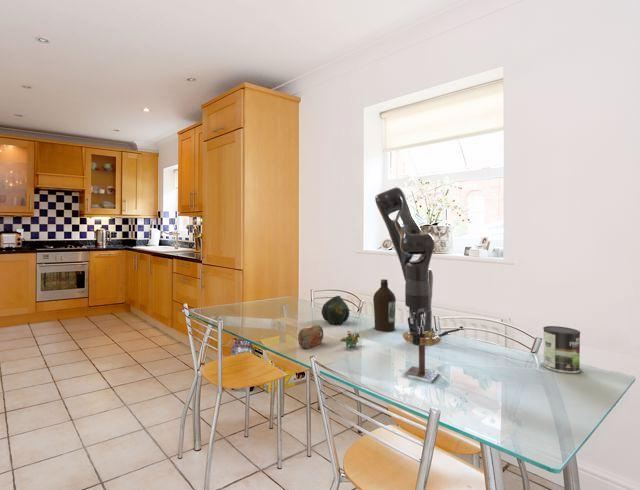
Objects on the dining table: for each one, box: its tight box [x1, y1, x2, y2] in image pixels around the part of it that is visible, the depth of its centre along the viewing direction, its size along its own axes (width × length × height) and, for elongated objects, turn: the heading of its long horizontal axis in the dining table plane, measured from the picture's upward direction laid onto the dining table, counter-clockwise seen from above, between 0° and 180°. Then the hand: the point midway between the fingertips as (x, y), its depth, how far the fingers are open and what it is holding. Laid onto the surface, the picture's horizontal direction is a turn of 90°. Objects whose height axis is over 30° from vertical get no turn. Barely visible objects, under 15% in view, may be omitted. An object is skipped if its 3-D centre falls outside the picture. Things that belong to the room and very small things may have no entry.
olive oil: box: [372, 278, 397, 332], centre depth 197 cm, size 11×11×25 cm
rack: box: [404, 332, 440, 384], centre depth 136 cm, size 9×9×15 cm
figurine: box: [339, 330, 361, 349], centre depth 166 cm, size 3×12×8 cm, turn 121°
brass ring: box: [402, 330, 442, 346], centre depth 136 cm, size 12×12×2 cm
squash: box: [321, 295, 350, 325], centre depth 212 cm, size 14×15×15 cm
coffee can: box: [542, 325, 581, 374], centre depth 141 cm, size 10×10×14 cm
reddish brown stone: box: [297, 324, 324, 349], centre depth 172 cm, size 15×3×8 cm, turn 131°
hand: (417, 343), depth 132 cm, fingers closed on brass ring, 2 cm apart
